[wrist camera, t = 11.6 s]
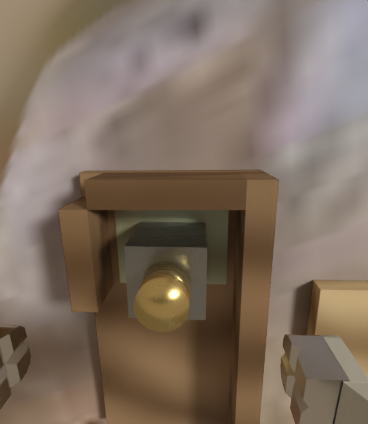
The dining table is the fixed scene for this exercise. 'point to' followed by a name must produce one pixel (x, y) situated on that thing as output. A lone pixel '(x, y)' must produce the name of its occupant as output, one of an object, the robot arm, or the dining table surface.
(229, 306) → the open box
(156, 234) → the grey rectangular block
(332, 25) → the dining table surface
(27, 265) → the dining table surface
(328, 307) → the tan square plate
